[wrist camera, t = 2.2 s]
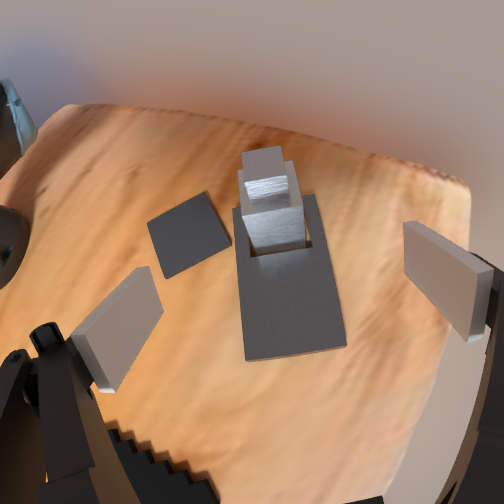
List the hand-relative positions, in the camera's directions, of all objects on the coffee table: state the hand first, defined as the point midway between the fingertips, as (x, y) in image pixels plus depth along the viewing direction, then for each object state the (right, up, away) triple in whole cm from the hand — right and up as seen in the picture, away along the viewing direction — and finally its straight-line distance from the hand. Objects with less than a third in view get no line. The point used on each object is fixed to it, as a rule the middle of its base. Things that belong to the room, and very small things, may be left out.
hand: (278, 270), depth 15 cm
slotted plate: (+2, -1, +16) cm, 16 cm away
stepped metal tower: (+2, +3, +18) cm, 18 cm away
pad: (-9, +3, +20) cm, 22 cm away
